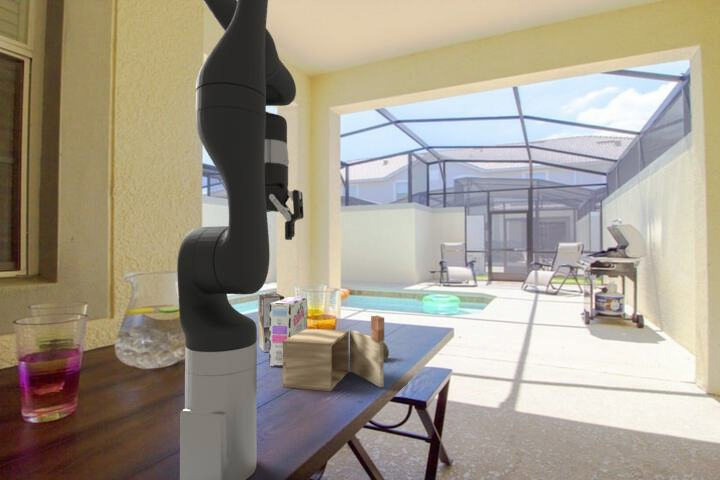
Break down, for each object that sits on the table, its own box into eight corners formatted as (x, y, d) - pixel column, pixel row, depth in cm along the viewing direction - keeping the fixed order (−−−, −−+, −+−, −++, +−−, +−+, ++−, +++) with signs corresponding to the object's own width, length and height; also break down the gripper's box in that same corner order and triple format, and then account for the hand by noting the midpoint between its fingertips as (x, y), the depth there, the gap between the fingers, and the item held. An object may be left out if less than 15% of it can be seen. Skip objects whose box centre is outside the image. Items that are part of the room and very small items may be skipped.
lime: (388, 357, 112) (388, 339, 112) (388, 362, 107) (388, 343, 107) (372, 357, 112) (372, 339, 112) (371, 362, 107) (371, 343, 108)
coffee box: (285, 350, 120) (285, 296, 121) (263, 352, 118) (263, 297, 118) (277, 343, 129) (277, 293, 129) (257, 346, 126) (257, 294, 126)
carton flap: (385, 386, 87) (384, 317, 88) (378, 387, 87) (378, 318, 87) (354, 369, 100) (354, 309, 100) (348, 370, 99) (348, 309, 99)
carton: (330, 391, 86) (330, 343, 86) (282, 386, 88) (282, 340, 89) (348, 371, 99) (348, 330, 100) (306, 368, 102) (306, 328, 102)
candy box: (290, 368, 102) (290, 303, 103) (268, 367, 104) (268, 302, 104) (307, 354, 116) (307, 296, 116) (288, 353, 117) (288, 296, 117)
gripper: (231, 162, 85) (231, 239, 85) (294, 158, 82) (294, 239, 81) (249, 169, 92) (249, 240, 92) (308, 166, 89) (308, 240, 88)
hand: (270, 239), depth 87 cm, fingers open, 8 cm apart
